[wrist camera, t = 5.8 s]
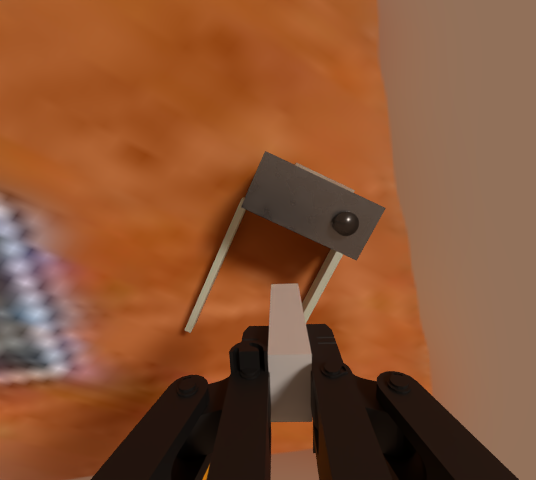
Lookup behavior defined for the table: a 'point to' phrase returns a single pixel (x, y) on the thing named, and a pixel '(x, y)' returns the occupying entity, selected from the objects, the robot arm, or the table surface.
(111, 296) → the table surface
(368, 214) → the unit housing
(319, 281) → the frame
